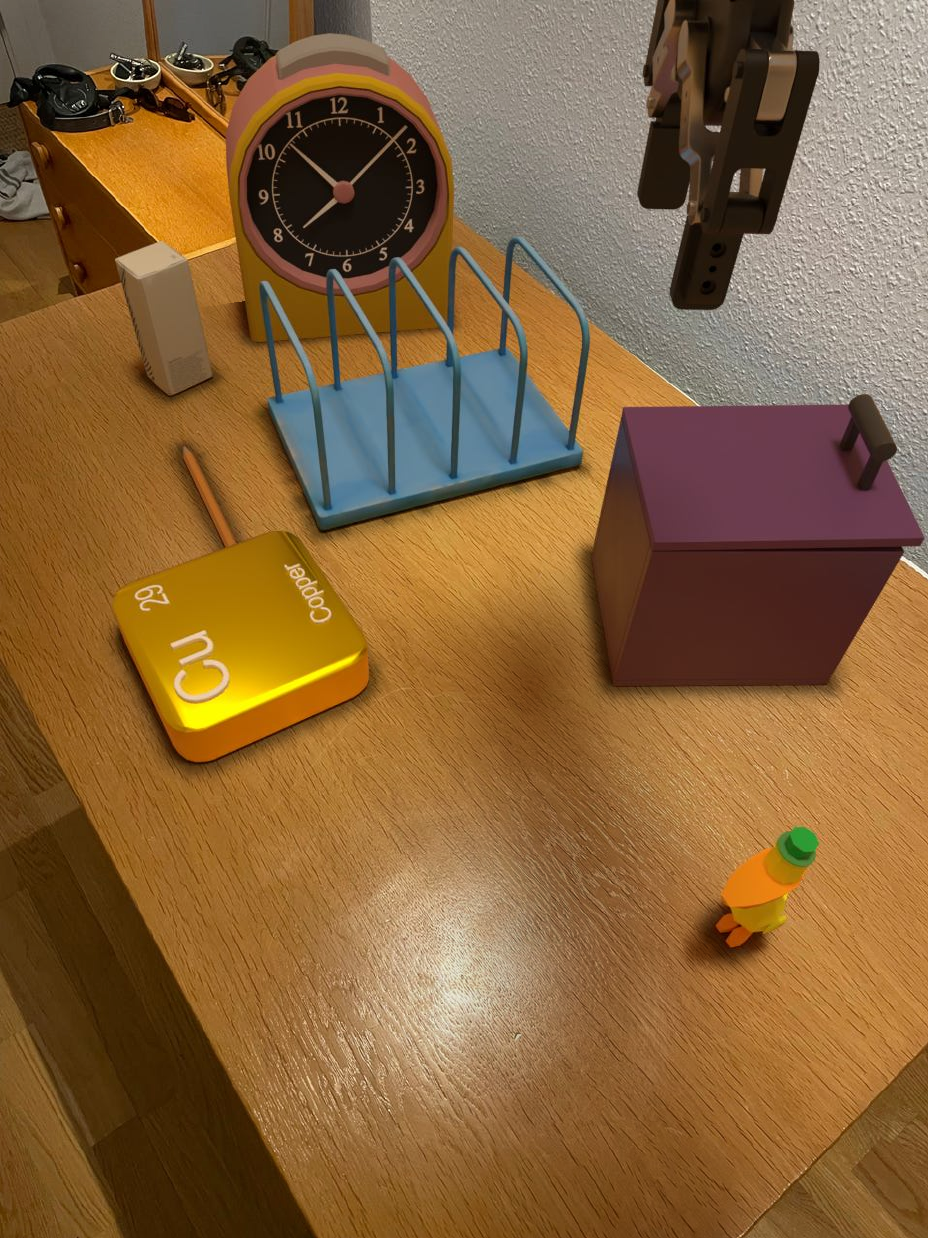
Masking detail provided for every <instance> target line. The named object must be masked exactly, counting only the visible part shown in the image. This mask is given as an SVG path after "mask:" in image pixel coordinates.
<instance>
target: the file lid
mask: <svg viewBox="0 0 928 1238" xmlns="http://www.w3.org/2000/svg"><path fill="white" fill-rule="evenodd" d="M621 417H622V419H623V424H624V428H625V432H626V437H627V441H628V445H629V450H630V454H631V458H632V463H633V467H634V471H635V476H636V480H637V484H638V489H639V493H640V497H641V502H642V506H643V510H644V515H645V519H646V524H647V528H648V532H649V537H650V541H651V545H652V550H653V551H670V550H728V549H786V548H844V547H902V548H903V547H921V545H923V542H924V540H925V538H926V537H925V535H924V533H923V531H922V529H921V527H920V525H919V523H918V521H917V519H916V517H915V515H914V512H913V511H912V508H911V506H910V504H909V503H908V500H907V498H906V496H905V495H904V492H903V491H902V490H903V489H902V488H901V486H900V484H899V481H898V480H897V478H896V475H895V474H894V471H893V469H892V468H891V465H890V464H889V461H888V460H891V459H892V458H893V457H894V456H895V455H896V454H897V452H898V446H897V444H896V442H895V440H894V438H893V436H892V434H891V432H890V430H889V428H888V426H887V423H886V422H885V420H884V418H883V416H882V414H881V412H880V410H879V408H878V406H877V404H876V402H875V401H874V398H873V396H871V395H870V394H868V393H862V394H858V395H856V396H854V397H853V398H852V399H851V400H850V401H849V402H848V404H769V405H768V404H767V405H765V404H763V405H759V404H758V405H683V406H682V405H681V406H680V405H679V406H677V405H676V406H674V405H673V406H668V405H667V406H623V407H622V410H621Z"/></svg>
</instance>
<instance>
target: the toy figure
mask: <svg viewBox="0 0 928 1238" xmlns="http://www.w3.org/2000/svg"><path fill="white" fill-rule="evenodd" d="M819 845H820V842H819V840H818V837H817V835H816V833H815V832H813V831H812V830H810V829H809V828H807V827H806V826H794V827H793V829H792V830H788V831H785V832H782V833H781V834H780V835H779V837H778V839H777V840H776V842H775V843H774V845H773V846H772V848H769V847H768V848H765V849H764V850H761V851H760V852H758V853H756V854H754V855H752V856H751V857H750V858H749V859H747V860H746V861H745V862H744V863H742V864H741V865H740V866H738V867H737V868H736V869H735V870H734V871H733V873H732V874H731V875H730V876H729V878H728V879H727V881H726V883H725V885H724V887H723V889H722V890H721V893H720V897H721V901H722V904H723V905H725V907H729V908H730V911H731V913H727V914H724V915H723V916H722V917H721V918H720V920H719V921H718V922H717V923H716V924H715V927H716V929H717V930H718V932H719V933H729V932H730V933H729V935H728V937H727V938H725V939H726V940H725V942H726V944H727V945H728V946H729V948H734V947H739V946H740V947H741V946H742V945H743V944H744V943H745V942H746V941H747V940H748V939H749V938H750V937H751V936H752V934H754V933H759V932H762V933H761V934H763V935H764V934H768V933H771V932H774V931H775V930H777V929H779V928H781V927H783V925H784V924H785V923H786V921H787V920H788V917H787V915H785V914H783V913H784V911H785V909H786V907H787V903H786V900H787V898H788V895H789V893H791V892H792V891H794V890H796V889H797V888H799V886H800V884H801V882H802V880H803V878H804V876H805V874H806V872H807V870H808V868H809V866H811V865H812V864H813V863H814V862H815V861H816V857H817V851H816V850H817V848H818V847H819ZM739 925H740V926H739Z"/></svg>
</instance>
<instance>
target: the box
mask: <svg viewBox="0 0 928 1238" xmlns="http://www.w3.org/2000/svg"><path fill="white" fill-rule="evenodd" d="M114 261H115V265H116V269H117V273H118V276H119V281H120V284H121V288H122V290H123V295H124V298H125V301H126V305H127V308H128V312H129V316H130V319H131V323H132V327H133V329H134V333H135V337H136V340H137V344H138V348H139V351H140V356H141V358H142V362H143V366H144V369H145V374H146V377H148V378H149V379H150V381H152V382H153V383H154V385H156V386H157V387H158V388H159V389H160V390H162V391H163V393H164V394H166V395H168V396H169V397H172V396H174V395H177V394H179V393H180V392H184V391H185V390H187V389H190V388H191V387H194V386H196V385H198V384H200V383H202V382H204V381H206V380H208V379H210V378H212V377H213V370H212V365H211V360H210V355H209V351H208V347H207V343H206V336H205V333H204V328H203V323H202V319H201V316H200V315H201V313H200V310H199V305H198V300H197V295H196V291H195V287H194V283H193V277H192V272H191V268H190V263H189V260H188V259H187V257H185V256H184V255H182V253H180V252H178V251H177V250H176V249H174V248H173V247H171V245H169V244H167V243H166V242H165V241H163V240H159V241H157V242H155V243H152V244H148V245H147V246H143V247H141V248H139V249H136V250H133V251H130V252H128V253H126V254H124V255H120V256H119V257H116V258H115V259H114Z"/></svg>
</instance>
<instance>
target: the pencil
mask: <svg viewBox="0 0 928 1238" xmlns="http://www.w3.org/2000/svg"><path fill="white" fill-rule="evenodd" d="M182 452H183V453H182V455H183V456H182V457H183V461H184V463H185V465H186V468H187V469H188V471H189V473H190V476H191V477H192V479H193V482H194V484H195V486H196V488H197V490H198V492H199V494H200V496H201V499H202V501H203V503H204V505H205V508H206V509H207V512H208V514H209V516H210V517H211V520H212V522H213V524H214V526H215V529H216V531H217V533H218V535H219V537H220V539H221V541H222V543H223V545H224V548H226V547H228V546H231V545H234V544H237V543H238V542H237V541H236V538H235V537H234V534H233V532H232V530H231V528H230V526H229V525H228V522H227V519H226V518H225V516H224V513H223V512H222V510H221V508H220V505H219V504H218V501H217V499H216V497H215V495H214V493H213V491H212V489H211V487H210V486H209V483H208V480H207V479H206V477H205V475H204V473H203V471H202V469H201V466H200V464H199V463H198V460H197V458H196V456H195V454H194V453H193V452H192V451H191V450H190V449H189V448H188V447H186V445H184V444H182Z"/></svg>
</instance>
